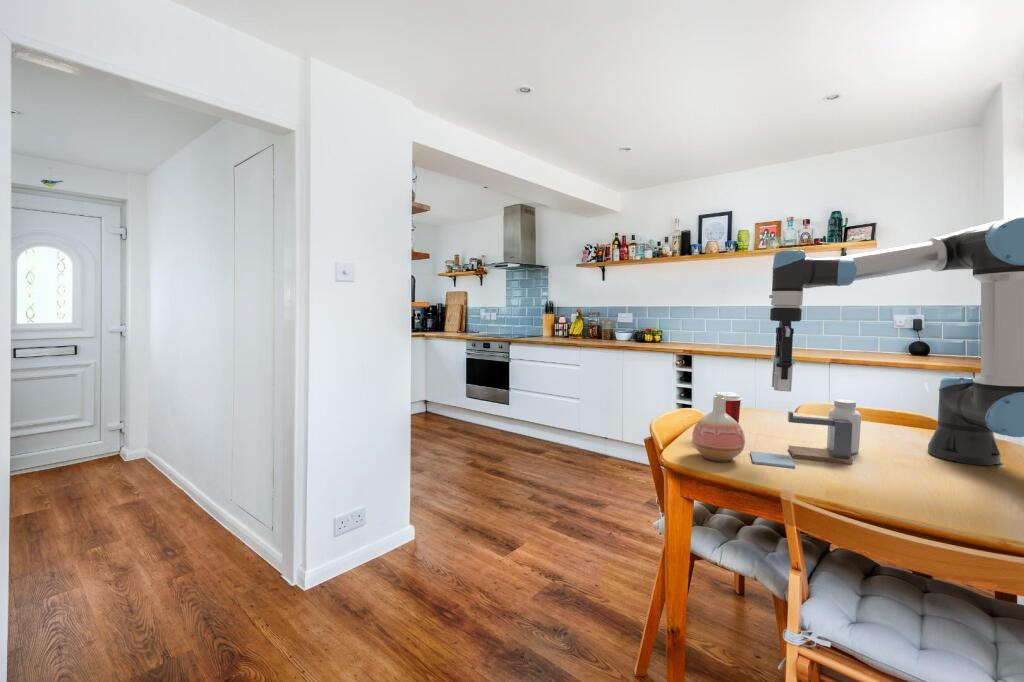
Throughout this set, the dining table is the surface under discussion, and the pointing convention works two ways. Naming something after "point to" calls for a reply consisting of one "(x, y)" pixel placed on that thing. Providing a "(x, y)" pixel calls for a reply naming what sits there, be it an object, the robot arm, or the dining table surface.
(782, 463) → the mat
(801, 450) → the hook stand
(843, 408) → the pill bottle
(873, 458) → the dining table surface
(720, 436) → the vase
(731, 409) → the coffee cup
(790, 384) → the light grey block
